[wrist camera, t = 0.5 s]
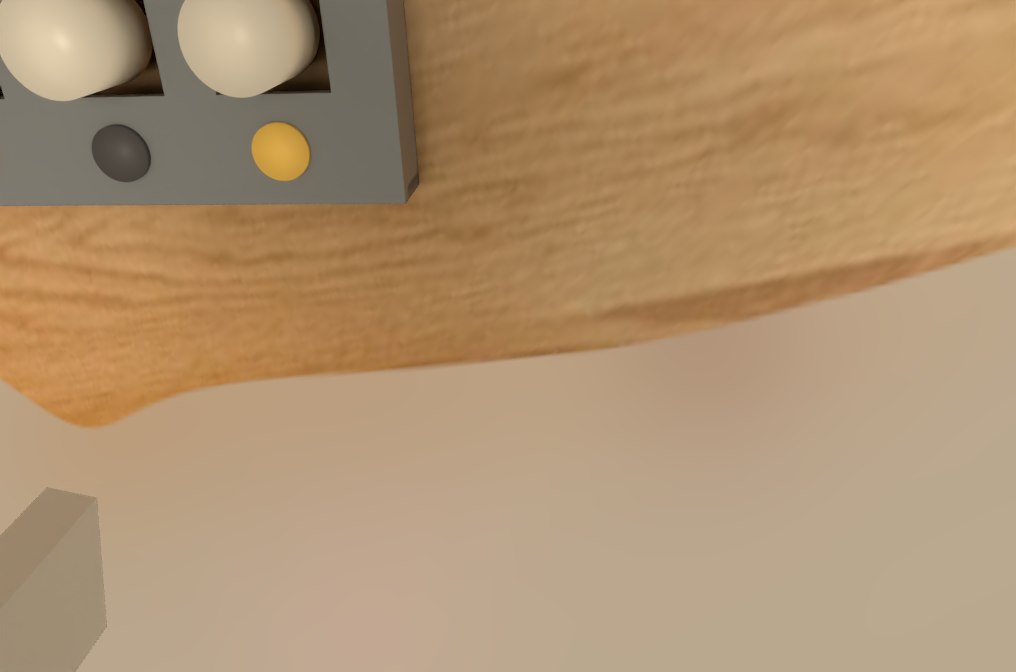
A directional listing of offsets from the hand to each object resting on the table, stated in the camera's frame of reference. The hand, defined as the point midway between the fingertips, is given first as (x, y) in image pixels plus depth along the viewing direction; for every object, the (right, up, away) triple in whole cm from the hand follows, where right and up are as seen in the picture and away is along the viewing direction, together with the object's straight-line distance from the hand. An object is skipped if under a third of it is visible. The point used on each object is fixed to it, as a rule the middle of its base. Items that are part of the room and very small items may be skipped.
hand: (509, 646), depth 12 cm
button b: (-17, +17, +20) cm, 31 cm away
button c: (-10, +17, +20) cm, 28 cm away
